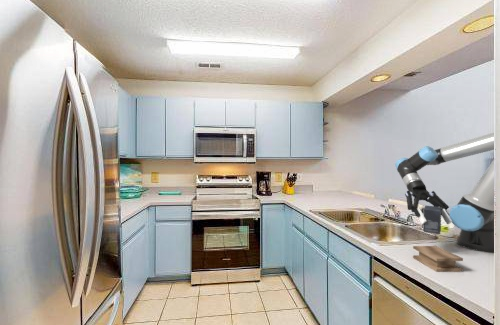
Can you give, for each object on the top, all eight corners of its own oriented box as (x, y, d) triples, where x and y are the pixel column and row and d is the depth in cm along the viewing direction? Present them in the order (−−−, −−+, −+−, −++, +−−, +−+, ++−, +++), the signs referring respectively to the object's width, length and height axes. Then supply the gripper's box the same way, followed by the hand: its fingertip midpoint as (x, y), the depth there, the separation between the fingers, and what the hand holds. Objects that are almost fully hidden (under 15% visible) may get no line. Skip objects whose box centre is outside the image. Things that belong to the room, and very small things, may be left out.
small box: (424, 226, 120) (424, 204, 120) (441, 229, 116) (441, 206, 116) (422, 231, 112) (423, 208, 112) (440, 234, 108) (441, 210, 108)
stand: (436, 257, 106) (436, 245, 106) (462, 271, 93) (462, 258, 93) (413, 257, 106) (413, 246, 106) (436, 271, 93) (436, 258, 93)
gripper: (432, 188, 129) (457, 227, 114) (388, 188, 129) (407, 226, 114) (441, 179, 124) (468, 218, 109) (395, 179, 123) (415, 218, 108)
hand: (437, 222), depth 111 cm, fingers closed on small box, 11 cm apart
